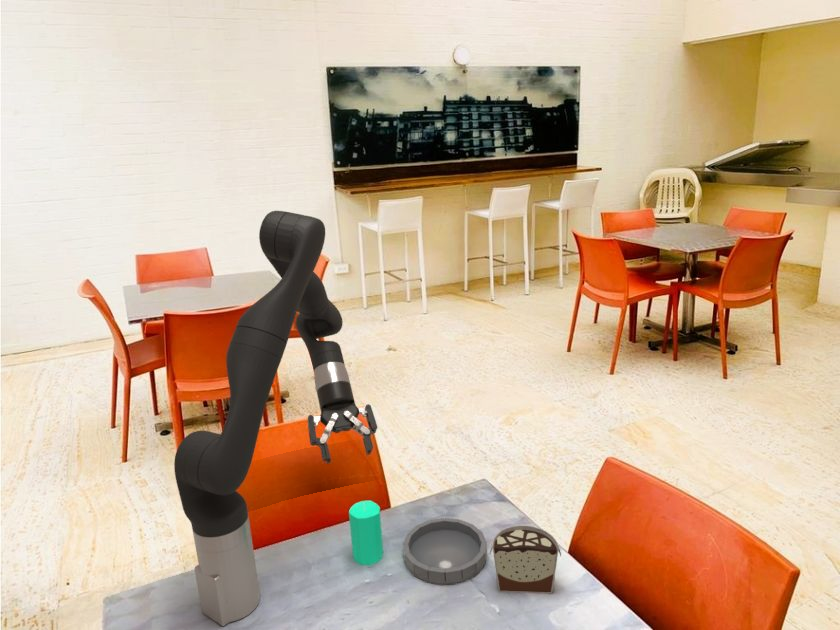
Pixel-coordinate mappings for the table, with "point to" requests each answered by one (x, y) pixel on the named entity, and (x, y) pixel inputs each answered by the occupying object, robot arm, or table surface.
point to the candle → (366, 532)
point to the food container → (525, 560)
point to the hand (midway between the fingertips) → (349, 457)
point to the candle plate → (445, 551)
